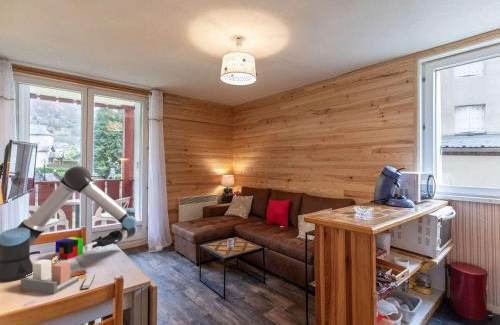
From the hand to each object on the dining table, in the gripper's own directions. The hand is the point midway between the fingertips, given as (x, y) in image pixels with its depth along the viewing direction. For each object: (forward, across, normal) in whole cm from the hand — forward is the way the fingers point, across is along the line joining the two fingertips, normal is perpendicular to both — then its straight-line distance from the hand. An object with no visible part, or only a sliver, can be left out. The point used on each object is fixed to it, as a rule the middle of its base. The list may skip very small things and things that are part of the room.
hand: (86, 248), depth 134 cm
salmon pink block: (+14, 0, -12) cm, 18 cm away
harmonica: (+8, -9, -14) cm, 19 cm away
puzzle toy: (-19, +30, -14) cm, 39 cm away
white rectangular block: (+14, +11, -12) cm, 22 cm away
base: (+14, +6, -14) cm, 21 cm away
